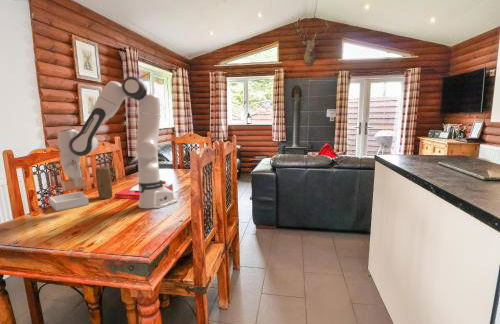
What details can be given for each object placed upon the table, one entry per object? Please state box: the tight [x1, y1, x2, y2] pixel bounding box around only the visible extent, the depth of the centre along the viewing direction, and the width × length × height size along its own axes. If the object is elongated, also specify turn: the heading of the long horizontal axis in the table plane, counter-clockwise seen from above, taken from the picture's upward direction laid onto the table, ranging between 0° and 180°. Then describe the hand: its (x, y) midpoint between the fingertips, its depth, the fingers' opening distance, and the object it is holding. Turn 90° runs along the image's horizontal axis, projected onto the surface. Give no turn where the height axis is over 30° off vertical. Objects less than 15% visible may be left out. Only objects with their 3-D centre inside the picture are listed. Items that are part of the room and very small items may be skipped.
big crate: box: [48, 191, 90, 212], centre depth 160 cm, size 16×16×5 cm
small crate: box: [60, 176, 87, 193], centre depth 147 cm, size 10×6×5 cm, turn 136°
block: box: [95, 165, 113, 200], centre depth 173 cm, size 11×8×20 cm
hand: (74, 184), depth 147 cm, fingers closed on small crate, 6 cm apart
